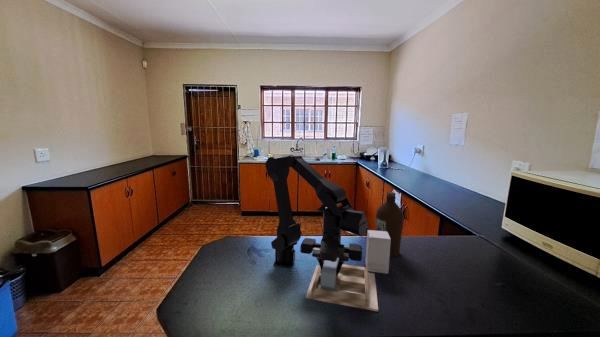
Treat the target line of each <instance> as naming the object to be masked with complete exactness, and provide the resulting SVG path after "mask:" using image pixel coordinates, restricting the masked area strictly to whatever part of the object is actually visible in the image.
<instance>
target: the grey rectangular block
mask: <svg viewBox="0 0 600 337" xmlns="http://www.w3.org/2000/svg"><path fill="white" fill-rule="evenodd" d="M338 261H339V258H337V261H336V262H331V261H327V260H325V261H324V264H323V268H322V271H321V289H323V290H328V291H334V292H335V284H336V271H337V266H338Z"/></svg>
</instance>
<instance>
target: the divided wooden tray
mask: <svg viewBox="0 0 600 337" xmlns="http://www.w3.org/2000/svg"><path fill="white" fill-rule="evenodd" d="M377 294H378V293H377V284H376V276H375V272H369V271H367V268H366V266H359V265H353V264H352V265H351V264H345V263H343V265H342V267H341V269H340V271H339V274H338V276H336V284H335V292H334V291H328V290H323V289H321V268H320V265H318V264H316V266H315V269H314V272H313V275H312V277H311V280H310V283H309V286H308V289H307V292H306V294H305V299H309V300H315V301H320V302H324V303H329V304H335V305H341V306H347V307H352V308H356V309H360V310H361V309H362V310H368V311H373V312H379V303H378V295H377Z"/></svg>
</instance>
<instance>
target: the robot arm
mask: <svg viewBox="0 0 600 337" xmlns="http://www.w3.org/2000/svg"><path fill="white" fill-rule="evenodd" d="M264 166H265V168H266V172H267V176H268V177H269V178H270V179H271V181H272V183H273V189H274V194H275V200H276V201H275V202H276V207H277V213H278V219H279V221H278V225H277V227H276V237H275V238H274V239H273V240H272V241H271V242H270V243H271V248H272V249H273V250H275V253H274V254H275V256H274V257H275V258H274V260H275V261H274V262H273V266H278V267H285V268H291V267H292V266H293V265H294V263H295V261H296V250H295V246H296V245H297V244H298V242H299V241H300V239H301V237H302V232H303V231H302V230H301V223H300V222H296V221H295V219H294V217H293V211H292V210H293V209H292V203H291V197H290V191H289V186H288V177H289V173H290V168H291V169H292V170H294V171H295V172H296V173H297V174H298V175H299V176H300V177H301V178H302V180H304V181H305V182H307V184H308V185H310V187H311V188H313V190H314V191H315V193H316V194H315V195H316V197H317V199H318V200H319V201H320V203H321V205H320V206H319V207H318V208H317V209H316V210H317V211H318V212H322V238H321V239H320V243H317V239H316V238H310V237H309V238H308V237H305V238H304V239H303V240H302V242H301V244H300V248H299V249H300V251H299V252H300V253H301V254H307V255H311V256H312V257H313V258H315V259H316V260H317V262H318V264H319V265H320V268H321V271H322V268H323V264H324V261H325V260H327V261H331V262H336V261H337V258H338V266H337V271H336V276H338V274H339V271H340V269H341V267H342V265H343V264H345V263H346V262H349V261H350V260H351V261H354V262H355V261H356V262H361V261H363V246H362V245H361V244H359V243H357V244H356V243H348V246H345V244H343V243H342V242H341V241H342V231H343V232H344V233H348V234H351V235H354V236H358V237H363V236H365V234H366V233H367V231H368V224H369V223H368V219H367V217H366V216H365V215H366V212H365V211H362V210H360V211H359V210H355V209H353V206H352V204H351V202H350V201H349V199H348V197H347V193H346V190H345V189H344V187H342V186H341V185H338V184H337V183H336V182H335V181H330V180H329V179H327V178H325V177H324V176H323V175H322V174H321V173H320V172H318V170H316V169H315V168H314V167H313V166H311V165H310V164H309V162H307V161H306V160H305V158H304V157H303V156H301V155H300V154H291V155H288V156H285V155H281V156H279V155H278V156H269V157H268V158H267V159H266V161H265V165H264ZM338 205H339V206H338Z"/></svg>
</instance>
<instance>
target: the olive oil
mask: <svg viewBox="0 0 600 337" xmlns="http://www.w3.org/2000/svg"><path fill="white" fill-rule="evenodd" d="M396 194H397V193H396V192H394V191H387V192H386V198H385V199H386V200H385V202H383V204H381V205H380V206H379V207H378V208H377V210H376V213H375V231H386V232H388V234H389V236H390V239H391V243H390V257H389V258H396V257H398V256H399V255H400V252H401V244H402V243H401V242H402V234H403V228H404V221H405V216H404V211H403V210H402V209H401V207H400V206H399V205H398V204H397V203H396V198H397V197H396Z"/></svg>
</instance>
